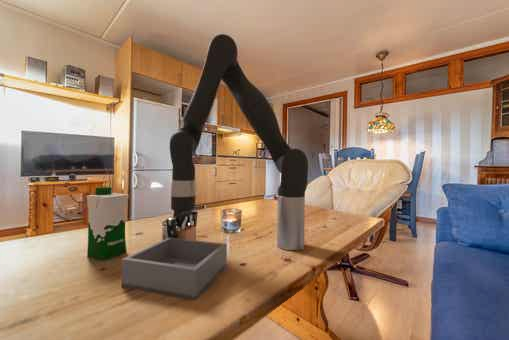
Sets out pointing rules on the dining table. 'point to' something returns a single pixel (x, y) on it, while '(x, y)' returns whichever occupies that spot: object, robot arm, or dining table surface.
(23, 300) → the dining table surface
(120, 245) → the milk carton
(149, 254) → the big crate
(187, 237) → the box
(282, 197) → the robot arm
